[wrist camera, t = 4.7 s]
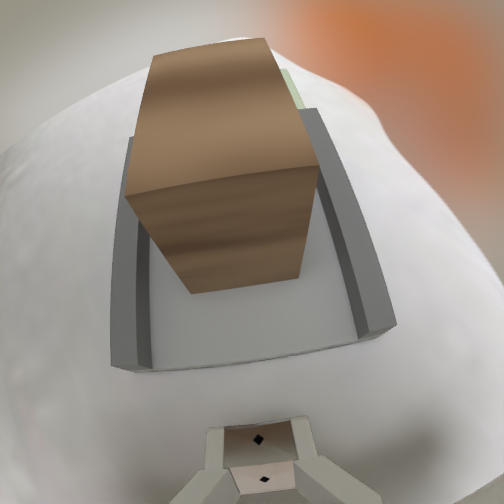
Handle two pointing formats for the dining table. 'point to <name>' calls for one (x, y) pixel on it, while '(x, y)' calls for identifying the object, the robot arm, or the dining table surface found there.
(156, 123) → the walnut block
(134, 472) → the dining table surface
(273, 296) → the lane
